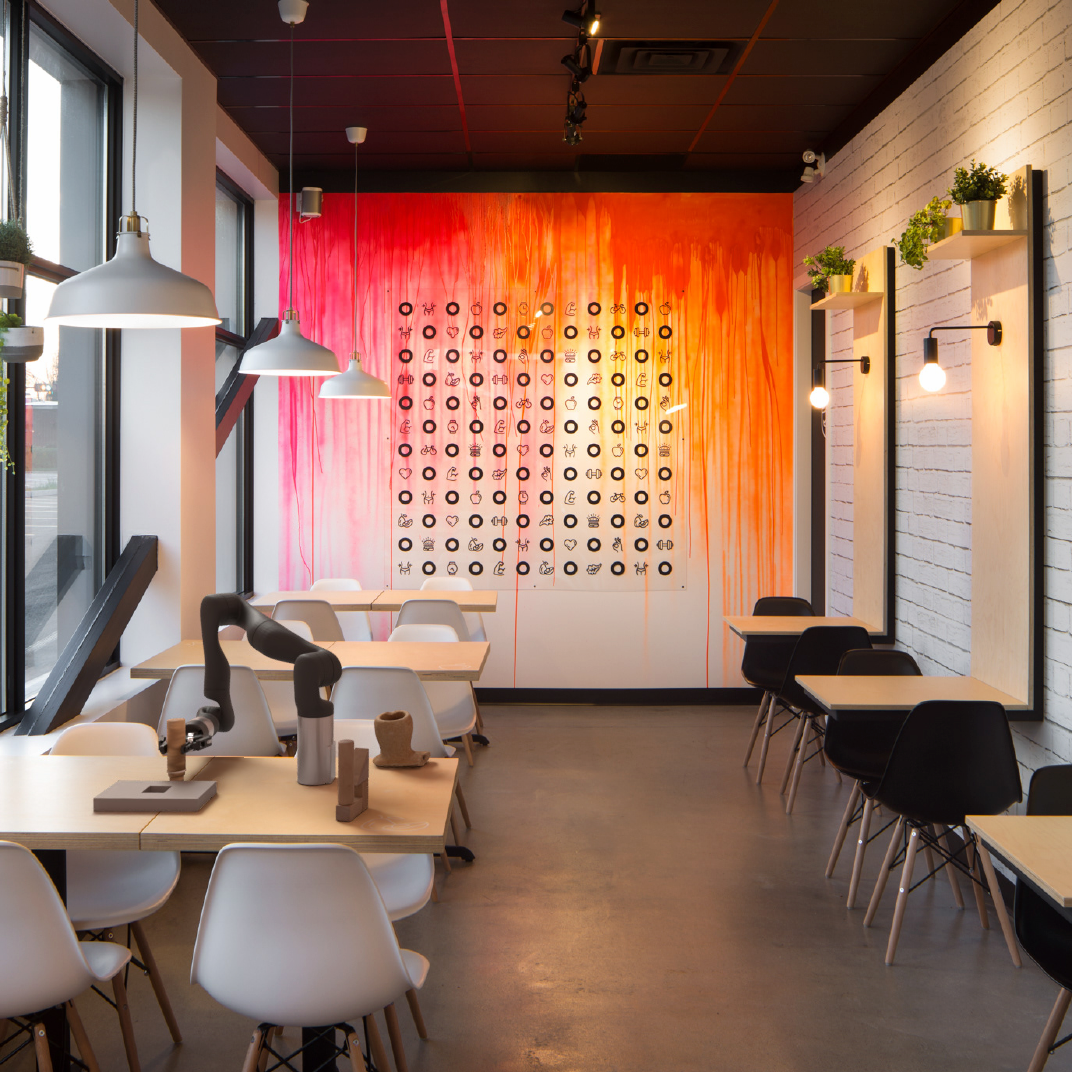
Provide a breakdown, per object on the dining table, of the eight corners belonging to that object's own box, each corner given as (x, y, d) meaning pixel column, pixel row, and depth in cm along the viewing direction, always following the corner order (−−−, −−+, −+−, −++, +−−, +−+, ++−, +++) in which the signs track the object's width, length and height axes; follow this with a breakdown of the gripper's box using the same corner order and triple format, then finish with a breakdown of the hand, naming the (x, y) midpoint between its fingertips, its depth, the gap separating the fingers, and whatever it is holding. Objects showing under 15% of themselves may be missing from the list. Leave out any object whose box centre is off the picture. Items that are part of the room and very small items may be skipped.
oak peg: (189, 780, 246) (188, 718, 246) (182, 785, 242) (181, 722, 241) (170, 780, 246) (170, 717, 245) (164, 785, 242) (163, 722, 241)
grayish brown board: (216, 793, 238) (216, 781, 238) (197, 811, 224) (197, 798, 224) (118, 792, 238) (118, 780, 238) (93, 811, 224) (93, 798, 224)
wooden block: (369, 807, 229) (369, 732, 228) (350, 822, 218) (350, 743, 217) (354, 806, 229) (354, 731, 229) (335, 821, 219) (335, 742, 218)
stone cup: (367, 771, 258) (367, 715, 258) (377, 759, 270) (377, 706, 270) (423, 773, 257) (424, 717, 257) (431, 760, 269) (431, 707, 269)
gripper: (168, 719, 258) (143, 735, 240) (222, 719, 258) (201, 735, 241) (168, 747, 258) (143, 765, 241) (222, 747, 258) (201, 765, 241)
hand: (172, 750), depth 241 cm, fingers closed on oak peg, 4 cm apart
